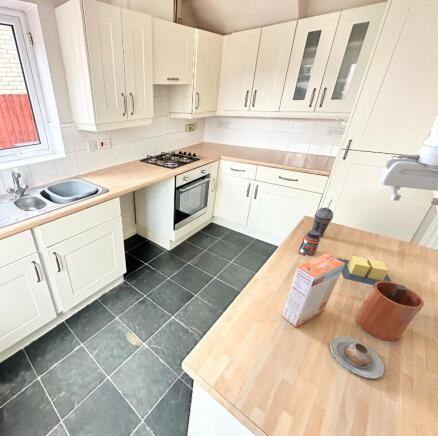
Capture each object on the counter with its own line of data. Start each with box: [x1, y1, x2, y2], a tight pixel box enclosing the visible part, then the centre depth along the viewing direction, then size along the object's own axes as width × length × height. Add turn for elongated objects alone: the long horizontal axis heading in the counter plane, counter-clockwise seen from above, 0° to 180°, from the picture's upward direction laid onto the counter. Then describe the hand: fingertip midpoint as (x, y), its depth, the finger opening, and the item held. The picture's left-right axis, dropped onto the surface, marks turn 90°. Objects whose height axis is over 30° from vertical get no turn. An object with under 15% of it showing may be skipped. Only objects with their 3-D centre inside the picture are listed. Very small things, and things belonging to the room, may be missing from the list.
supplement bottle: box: [298, 229, 321, 257], centre depth 106 cm, size 6×6×11 cm
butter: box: [347, 255, 389, 281], centre depth 95 cm, size 10×6×5 cm, turn 66°
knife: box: [387, 283, 407, 304], centre depth 72 cm, size 2×5×15 cm, turn 156°
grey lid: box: [329, 335, 385, 379], centre depth 66 cm, size 12×12×5 cm
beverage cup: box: [311, 199, 334, 238], centre depth 116 cm, size 7×7×20 cm
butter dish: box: [336, 257, 393, 286], centre depth 96 cm, size 16×14×1 cm
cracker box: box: [280, 253, 345, 328], centre depth 76 cm, size 14×6×21 cm, turn 115°
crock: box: [355, 281, 425, 342], centre depth 73 cm, size 10×10×14 cm
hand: (414, 202), depth 73 cm, fingers open, 8 cm apart
